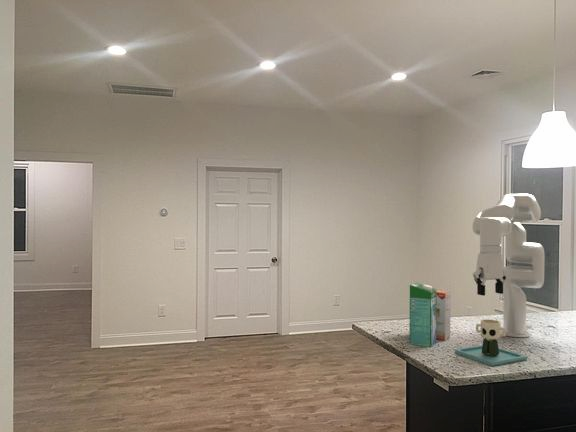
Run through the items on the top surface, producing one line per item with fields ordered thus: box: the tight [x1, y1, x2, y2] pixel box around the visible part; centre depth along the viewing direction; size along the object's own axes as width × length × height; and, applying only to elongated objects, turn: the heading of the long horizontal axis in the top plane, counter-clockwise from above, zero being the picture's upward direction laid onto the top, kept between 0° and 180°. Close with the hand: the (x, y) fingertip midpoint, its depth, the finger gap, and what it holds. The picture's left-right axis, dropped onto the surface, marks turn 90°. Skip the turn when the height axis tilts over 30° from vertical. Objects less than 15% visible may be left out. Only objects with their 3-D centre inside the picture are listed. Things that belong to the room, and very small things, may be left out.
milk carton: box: [408, 282, 437, 348], centre depth 197 cm, size 9×9×25 cm
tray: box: [454, 344, 528, 367], centre depth 178 cm, size 18×18×2 cm
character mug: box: [475, 318, 506, 356], centre depth 178 cm, size 11×7×13 cm, turn 50°
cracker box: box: [436, 290, 451, 341], centre depth 207 cm, size 14×6×21 cm, turn 47°
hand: (490, 294), depth 178 cm, fingers open, 9 cm apart
